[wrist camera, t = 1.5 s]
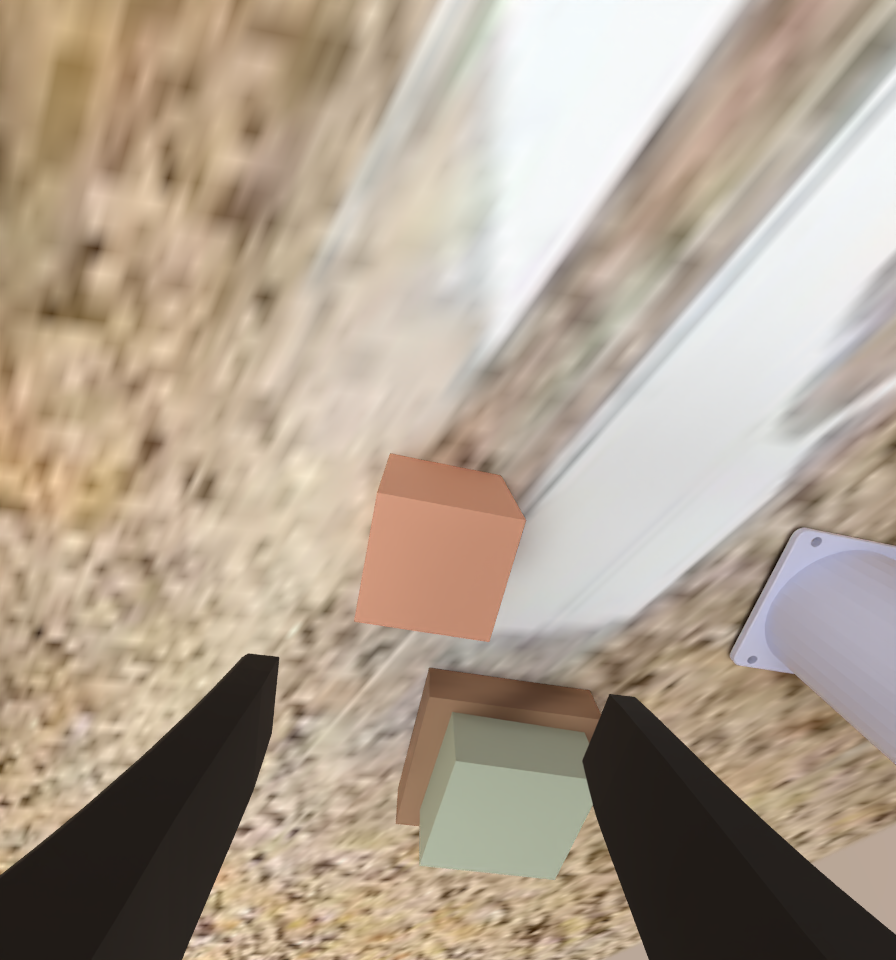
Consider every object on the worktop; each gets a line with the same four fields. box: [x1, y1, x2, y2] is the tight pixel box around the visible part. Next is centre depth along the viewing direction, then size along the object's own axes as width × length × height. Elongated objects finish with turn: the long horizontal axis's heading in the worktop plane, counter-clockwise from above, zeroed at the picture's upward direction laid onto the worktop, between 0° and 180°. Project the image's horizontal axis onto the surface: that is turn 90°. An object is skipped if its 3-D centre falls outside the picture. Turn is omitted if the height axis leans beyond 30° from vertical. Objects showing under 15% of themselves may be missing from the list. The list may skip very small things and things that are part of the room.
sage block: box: [419, 712, 593, 880], centre depth 21 cm, size 7×7×2 cm
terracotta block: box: [354, 454, 526, 642], centre depth 17 cm, size 5×5×5 cm
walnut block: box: [396, 668, 601, 826], centre depth 23 cm, size 9×9×2 cm
